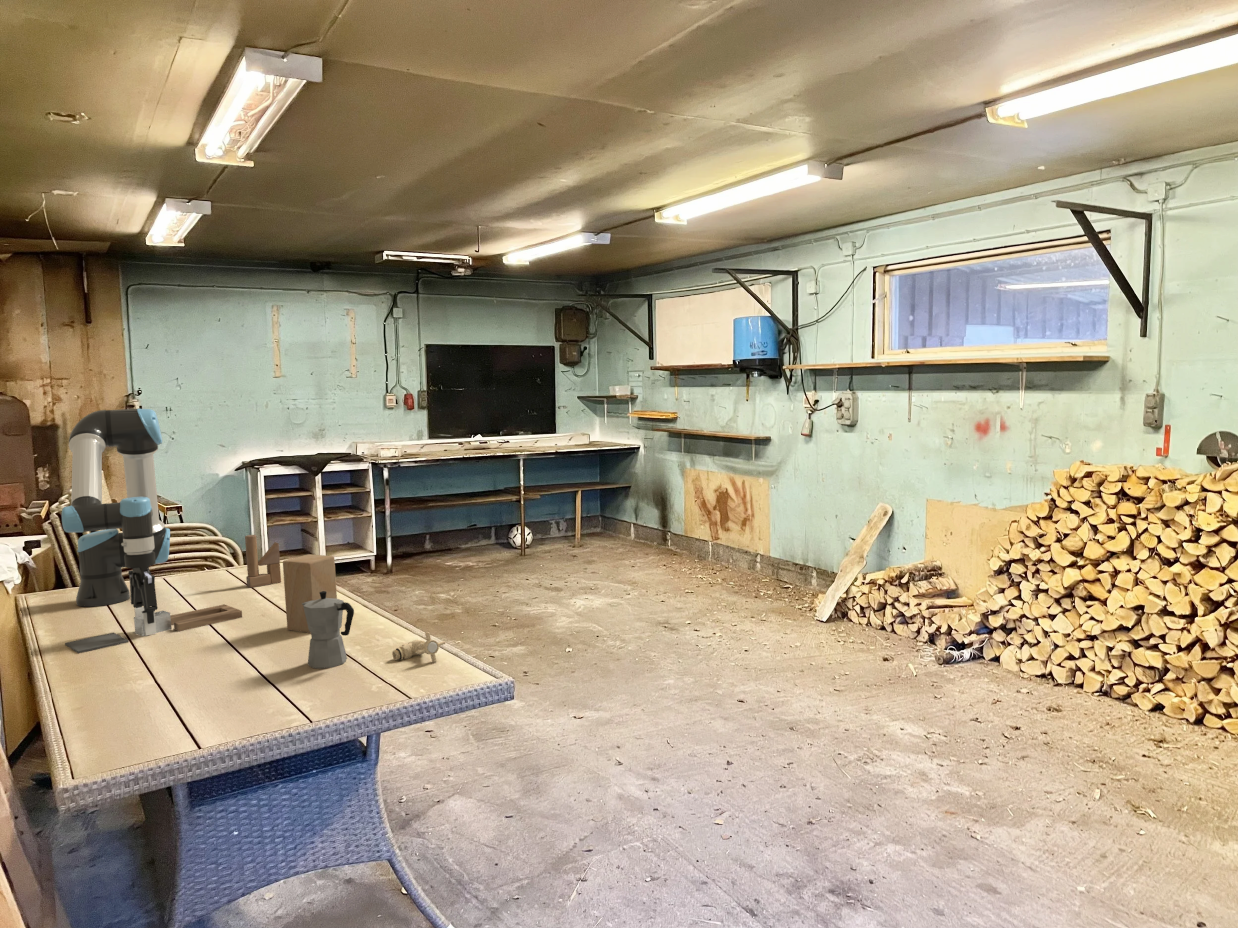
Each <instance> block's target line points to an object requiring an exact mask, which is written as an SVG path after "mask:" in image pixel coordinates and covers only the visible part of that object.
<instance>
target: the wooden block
mask: <svg viewBox="0 0 1238 928" xmlns="http://www.w3.org/2000/svg"><path fill="white" fill-rule="evenodd" d="M282 571H283V586H284V598H285V599H284V600H285V610H286V611H285V614H286V615H285V616H286V627H287V630H288V631H292V632H293V631H294V632H300V633H310V634H311V632H310V631H309V629H308V624H307V620H306V616H305V611H304V607H303V606H304V605H302V603H304V602H308V601H312V600H318V599H321V596H320V592H322V591H326V592H327V593H326V598H335V599H338V596H337V595H338V594H337V593H338V592H337V591H338V590H337V579H336V578H337V577H336V564H335V556H334V555H325V554H324V555H323V554H310V553H309V554H304V555H300V556H296V557H292V558H289V559H286V560H285V559H284V560H283V561H282Z"/></svg>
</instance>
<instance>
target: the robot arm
mask: <svg viewBox="0 0 1238 928" xmlns="http://www.w3.org/2000/svg"><path fill="white" fill-rule="evenodd" d="M162 444H163V437H162V432H161V427H160V422H159V419H158V415H157V413H156V411H155V410H154V409H151V408H140V407H139V408H127V409H125V408H124V409H100V410H96V411H93V412H91V413H88V414H86V416H85V415H84V417H83V418H81V419H80V420H79V421H78V422H77V423H76V424H75V426H74V427H73V428H72V430H71V432H70V435H69V438H68V449H69V451H70V452H71V453H72V462H71V499H70V505H67V506H64V507H62V510H61V523H62V528H63V531H64V532H65V533H67V534H68V533H69V534H70V533H86V532H89V533H87V534H83V535H82V536H80V537H79V538H78V540H77V551H76V552H77V553H78V562H79V575H80V583H79V586H78V590H77V594H76V597H75V598H76V599H75V601H76V606H78V607H86V608H87V607H89V608H90V607H99V606H101V607H102V606H108V605H113V604H119V603H121V602H124V601H128V600H129V599H130V605H132V606H133V609H134V617H137V616H142V615H143V617H144V629H145V635H146V636H151V635H155V634H157V633H156V623H155V612H156V611H157V610H158V604H157V603H158V601H157V591H156V583H155V582H156V581H155V580H156V577H155V575H154V574H152V572H151V571H150V567H151V566H154V565H157V564H163V563H166V562H167V561H168V560H169V556H170V545H171V544H170V543H171V542H170V541H171V529H170V528H168V527H166V525H165V522H164V521H162V520H160V516H159V515H160V514H159V504H158V502H159V501H158V494H157V493H158V492H157V481H156V471H155V470H156V469H155V468H156V467H155V460H154V459H155V457H154V454H155V453H156V452H157V451H158V450H159V445H162ZM106 447H109V448H110V447H111V448H112V447H116V452H117V454H119V455H121V456H122V460H123V468H124V479H125V488H126V498H121V500H120V502H119V501H118V502H111V503H109V502H108V503H107V502H106V503H103V496H102V495H103V490H102V489H103V472H102V471H103V469H102V468H103V467H102V466H103V465H102V464H103V459H102V458H103V457H102V455H103V452H104V451H105V450H106ZM120 529H121V531H122V532H119V530H120ZM122 568H128V569H132V570H128V571H127V572H128V574H127V575H128V577H129V587H128V585H127V583H126V582H125V579H124V576H123V573H122V572H123V571H122Z"/></svg>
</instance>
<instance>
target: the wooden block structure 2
mask: <svg viewBox="0 0 1238 928" xmlns="http://www.w3.org/2000/svg"><path fill="white" fill-rule="evenodd" d="M244 540H245V541H244V542H245V556H246V568H247V570H246V571H247V576H246V578H245V579H246V586H247V587H248V588H249V589H251V588H256V587H263V586H268V585H274V584H280V583H282V575H281V573H282V572H281V561H280V560H281V559H280V558H281V557H280V545H279V543H278V542H275V541H274V542H273V544H271V546H270V547H269V548H268V550H267V551H266V552H265V553H264V555H262V557H261V558H260V559H259V558H258V557H259V556H258V543H257V541H258V540H257V535H256V534H248V535H245V536H244ZM261 566H266V573H260V572H259V571H260V569H259V567H261Z"/></svg>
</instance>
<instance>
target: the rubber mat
mask: <svg viewBox="0 0 1238 928" xmlns="http://www.w3.org/2000/svg"><path fill="white" fill-rule="evenodd" d="M127 643H129V640H128V639H127V638H125V637H123V636H121V635H120V634H117V633H116V632H109V633H105V634H101V635H95V636H91V637H86V638H81V639H76V640H73V641H72V640H70V641H67V642H64V645H65V646H66V647H67V648H69V649H70V650H72V651H74V652H75V653H77V654H82V653H86V652H91V651H95V650H100V649H104V648H109V647H112V646H117V645H122V644H127Z"/></svg>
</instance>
